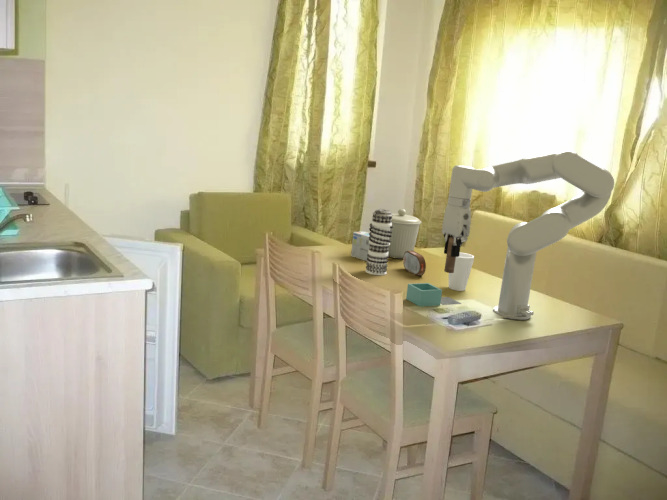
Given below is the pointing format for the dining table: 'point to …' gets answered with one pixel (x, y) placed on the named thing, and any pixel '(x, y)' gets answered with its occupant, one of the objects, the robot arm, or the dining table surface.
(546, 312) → the dining table surface
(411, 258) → the tin
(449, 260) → the dowel
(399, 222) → the canister
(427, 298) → the teal open box
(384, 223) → the decorative candle
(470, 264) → the foam cup
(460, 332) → the dining table surface
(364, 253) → the light bulb box
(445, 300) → the coaster
